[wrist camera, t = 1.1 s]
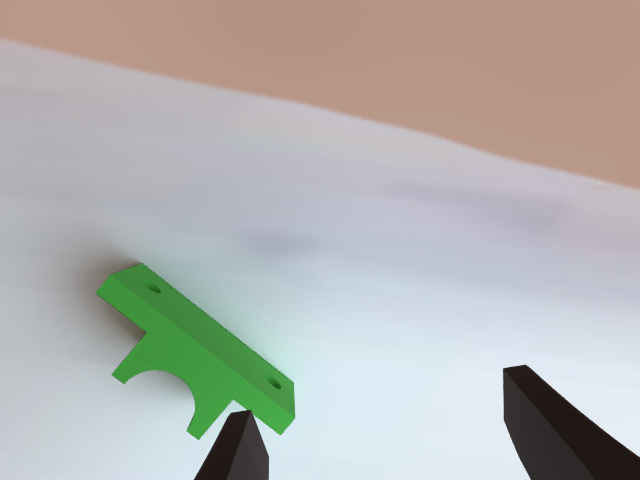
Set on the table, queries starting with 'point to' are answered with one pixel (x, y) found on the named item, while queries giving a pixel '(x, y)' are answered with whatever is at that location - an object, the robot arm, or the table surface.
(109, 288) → the pipe clamp
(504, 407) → the robot arm
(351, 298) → the table surface
